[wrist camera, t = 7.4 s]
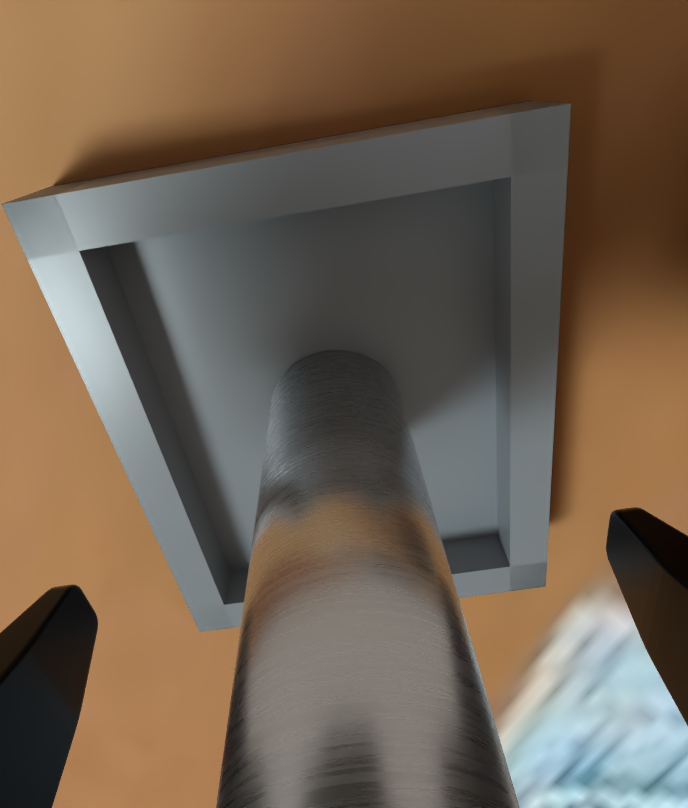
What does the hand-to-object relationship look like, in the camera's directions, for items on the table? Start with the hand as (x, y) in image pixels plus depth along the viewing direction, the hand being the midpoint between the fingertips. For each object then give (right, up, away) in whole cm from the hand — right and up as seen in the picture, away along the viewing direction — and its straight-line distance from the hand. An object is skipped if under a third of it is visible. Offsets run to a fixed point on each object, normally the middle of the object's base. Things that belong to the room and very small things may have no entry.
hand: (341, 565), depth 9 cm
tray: (0, +3, +5) cm, 6 cm away
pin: (0, +3, +4) cm, 5 cm away
